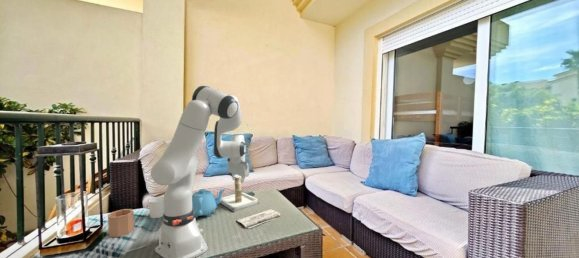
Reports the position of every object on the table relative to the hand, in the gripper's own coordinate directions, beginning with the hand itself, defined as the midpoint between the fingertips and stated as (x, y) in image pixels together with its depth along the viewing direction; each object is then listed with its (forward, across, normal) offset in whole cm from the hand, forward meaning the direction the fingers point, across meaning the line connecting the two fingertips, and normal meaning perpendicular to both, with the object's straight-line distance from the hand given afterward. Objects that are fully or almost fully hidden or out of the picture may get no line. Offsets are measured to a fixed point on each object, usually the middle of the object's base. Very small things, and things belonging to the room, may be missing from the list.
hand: (238, 181), depth 143 cm
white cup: (+14, +13, +43) cm, 47 cm away
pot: (+14, +5, +60) cm, 62 cm away
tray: (+14, 0, 0) cm, 14 cm away
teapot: (+14, 0, +23) cm, 27 cm away
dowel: (+13, 0, 0) cm, 13 cm away
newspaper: (+15, -28, +3) cm, 32 cm away
